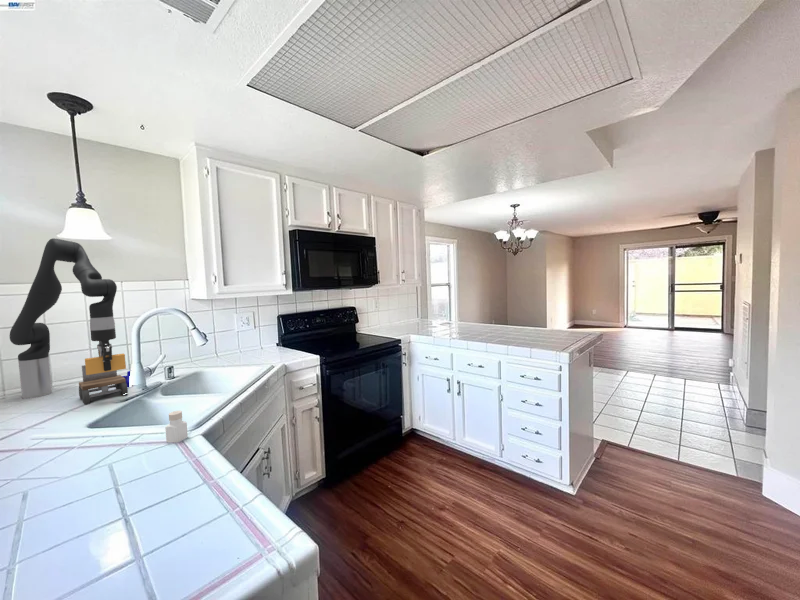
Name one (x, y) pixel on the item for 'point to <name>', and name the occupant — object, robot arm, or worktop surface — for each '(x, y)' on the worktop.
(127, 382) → the cable clip
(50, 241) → the robot arm
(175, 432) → the pepper shaker
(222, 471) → the worktop surface
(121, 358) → the chock
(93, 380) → the bench with backrest
